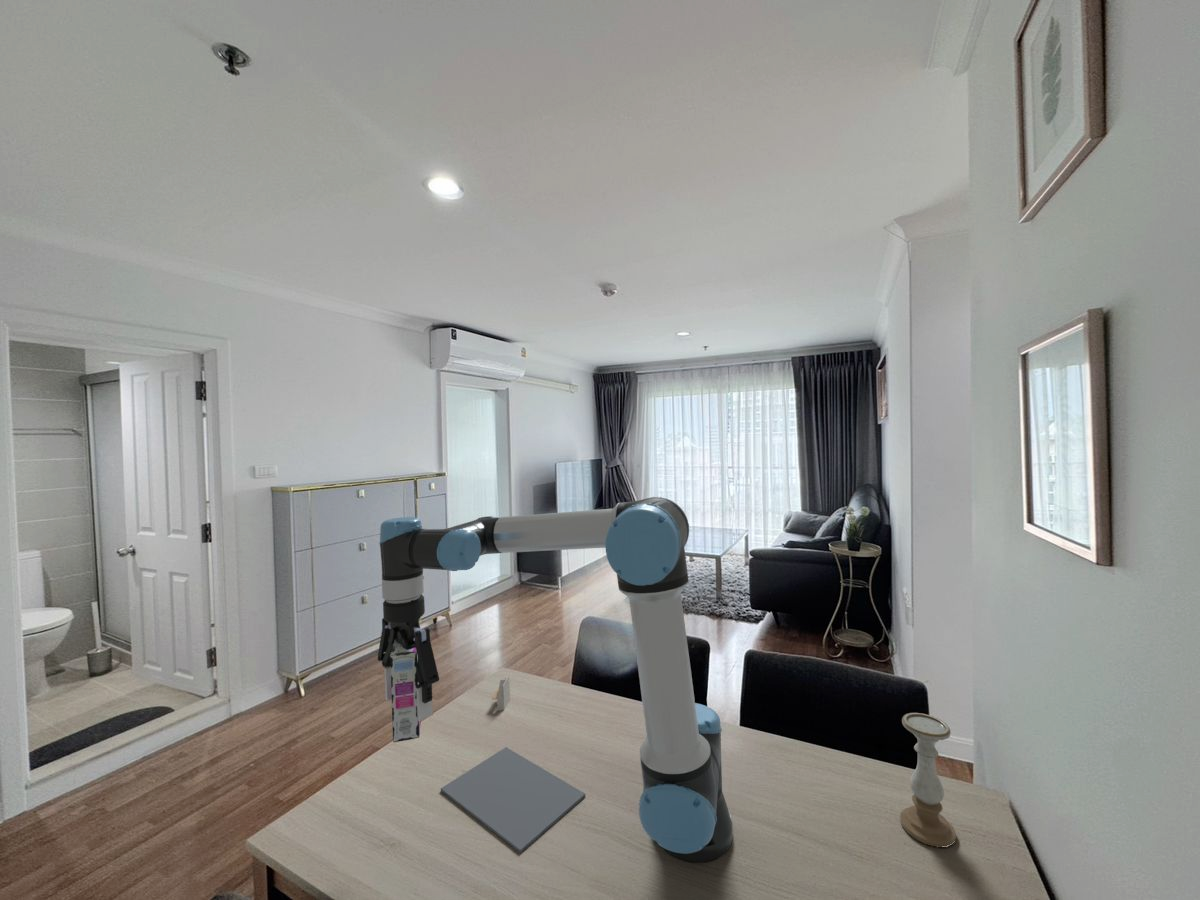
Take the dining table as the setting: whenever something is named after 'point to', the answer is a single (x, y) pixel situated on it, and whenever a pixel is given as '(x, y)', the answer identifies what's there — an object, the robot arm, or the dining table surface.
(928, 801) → the candle holder
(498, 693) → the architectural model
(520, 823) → the mat
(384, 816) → the dining table surface
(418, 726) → the candy bar box
